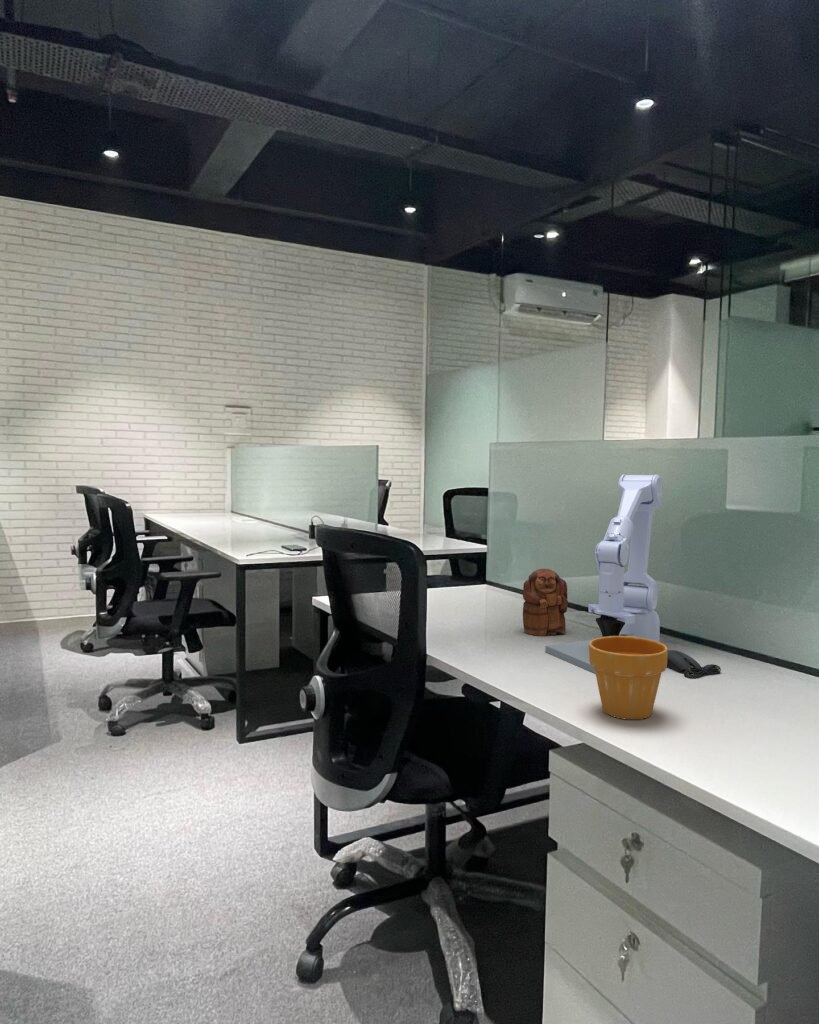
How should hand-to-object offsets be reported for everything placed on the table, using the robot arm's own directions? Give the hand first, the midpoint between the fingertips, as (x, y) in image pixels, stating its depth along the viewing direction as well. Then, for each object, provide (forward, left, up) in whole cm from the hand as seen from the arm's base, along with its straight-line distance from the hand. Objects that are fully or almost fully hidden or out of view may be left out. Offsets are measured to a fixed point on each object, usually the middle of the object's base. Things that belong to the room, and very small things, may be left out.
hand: (610, 647), depth 170 cm
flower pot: (+19, +29, -3) cm, 35 cm away
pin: (0, +6, -2) cm, 6 cm away
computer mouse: (-12, +11, -4) cm, 17 cm away
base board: (+1, -1, -3) cm, 4 cm away
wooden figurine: (-2, -30, -3) cm, 30 cm away
